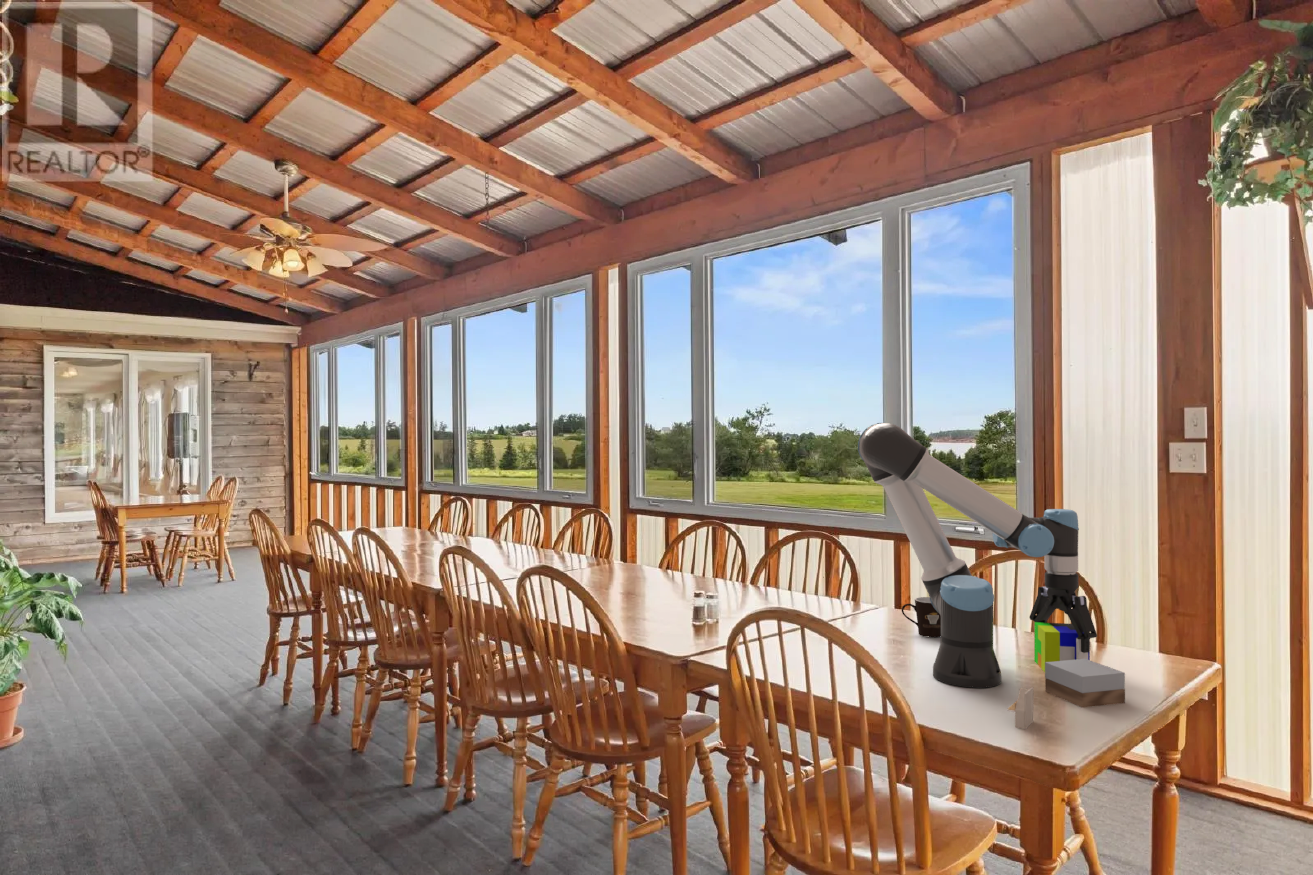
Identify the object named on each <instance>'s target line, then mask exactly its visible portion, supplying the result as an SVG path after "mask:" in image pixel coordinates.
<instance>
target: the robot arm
mask: <svg viewBox="0 0 1313 875" xmlns="http://www.w3.org/2000/svg"><path fill="white" fill-rule="evenodd" d="M857 451H858V454H859V456H860V458H861V460H862V461H863V462H864V464H865V466H866V468H867V470H868V472H869V474H870V476H871V478H872V480H873V482H874V483H875V484H877V485H880V486H882V487H883V490H884V491H885V493H886V496H887V497H888V500H889V501H890V504H891V506H892V507H893V509H894V512H895V514H896V516H897V518H898V520H899V522H900V524H901V527H902V528H903V531H904V533H905V535H906V537H907V538H908V540H909V543H910V545H911V547H912V549H913V550H914V553H915V555H916V557H917V560H918V561H919V563H920V566H921V567H922V569H923V573H922V576H921V577H920V579H921V581H922V584H923V585H924V586H923V587H924V588H925V589H926V591H927V594H928V597H930V601H931V603H932V605H933V607H934V608H935V610H936V611H937V612H938V613H939V614H940V615H941V637H940V645H939V648H938V651H937V654H936V658H935V660H934V663H933V666H932V676H933V677H934V678H935V679H936V680H937V681H939V682H941V683H945V684H948V685H952V686H957V687H962V688H963V687H964V688H972V689H973V688H974V689H976V688H977V689H978V688H979V689H984V688H992V687H996V686H999V685H1000V684H1001V683H1002V670H1001V669H1000V665H999V662H998V658H997V655H996V653H995V650H994V602H995V595H994V588H993V585H992V584H991V583H990V581H988V580H986V579H984V578H980V577H978V576H973V575H972V573H971V571H970V569H969V567H968V565H967V562H966V561H965V560H964V559H961V558H959V557H957V556H956V554H955V553H954V551H953V548H952V547H951V544H950V543H949V541H948V538H947V536H946V534H945V532H944V530H943V528H942V526H941V523H940V522H939V519H938V517H937V516H936V514H935V512H934V509H933V507H932V505H931V504H930V501H929V499H928V497H927V495H926V493H925V491H926V492H928V493H929V494H931V495H933V496H935V497H936V498H938V500H941V501H942V502H944V503H946V504H947V505H948V506H950V507H951V508H953V509H954V510H956V511H958V512H960V513H961V514H963V515H964V516H965V517H968V518H969V519H970V520H972V521H974V522H975V523H976V524H978V525H980V526H981V527H983V528H985V529H986V530H987V531H989V532H991V533H992V541H993V542H994V545H995V546H996V547H997V548H998V547H999V548H1006V549H1009V548H1014V549H1016V550H1018V551H1020V552H1022V553H1023V554H1025V555H1026V556H1028V557H1031V558H1042V557H1044V558H1043V559H1044V563H1043V564H1044V567H1043V568H1044V569H1045V572H1044V586H1039V587H1038V588H1037V596H1036V597H1035V601H1034V604H1033V607H1032V610H1031V612H1030V614H1029V620H1030V621H1033V622H1041V623H1048V620H1049V618H1051V616H1052V615H1053V614H1054V612H1055V610H1059V611H1062V612H1063V613H1064V614H1066V615H1067V617H1068V619H1069V620H1070V622H1071V623H1070V624H1073V626H1074V628H1075V630H1076V632H1077V634H1078V636H1079V637H1077V638H1076V660H1077V659H1088V652H1089V651H1090V652H1091V648H1090V647H1091V646H1090V645H1091V639H1094V638H1095V639H1096V638H1097V637H1098V634H1097V631H1096V628H1095V625H1094V622H1093V619H1092V617H1091V614H1090V611H1089V610H1090V609H1089V608H1088V602H1087V597H1086V595H1076V591H1077V589H1079V585H1080V584H1079V581H1080V580H1079V574H1078V573H1077V572H1078V571H1079V530H1080V528H1079V520H1078V519H1079V517H1078V514H1077V512H1076V511H1075V510H1073V509H1066V508H1065V509H1064V508H1047V509H1046V510H1044V512H1043V516H1040V517H1028V516H1027V515H1025V514H1024V513H1022V512H1021V511H1019V510H1018V509H1016V508H1014V507H1013V506H1011V505H1010V504H1008V503H1006V502H1005V501H1003V500H1001V499H1000V498H998V497H997V496H995V495H994V494H992V493H991V492H989V491H987V490H986V489H985V488H982V487H981V486H980V485H978V484H977V483H975V482H973V481H972V480H970V479H968V478H967V477H965V476H964V475H962V474H960V473H959V472H957V471H956V470H954V469H953V468H951V467H949V466H948V465H946V464H945V463H943V462H941V461H940V460H938V459H937V458H936V457H934V456H932V455H931V454H930V453H929V448H928V447H926V446H924V445H923V444H922V443H921V442H918V441H917V440H916V439H915V438H913V437H912V436H911V435H910V434H908V433H907V432H906V431H905V430H904V429H903V428H901V427H900V426H898V425H896V424H894V423H891V422H890V423H889V422H877V423H874V424H871V425H869V426H867V427H866V428H865V429H864V430H863V431H862V433H861V434H860V436H859V438H858V442H857ZM924 490H925V491H924ZM1083 633H1084V634H1083Z"/></svg>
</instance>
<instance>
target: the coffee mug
mask: <svg viewBox="0 0 1313 875" xmlns="http://www.w3.org/2000/svg"><path fill="white" fill-rule="evenodd" d="M908 606H909V607H912V609H914V611H915V612H916V621H915V620H913V619H911V618H910V617H909V616H907V615H906V613H905V612H904V610H905V608H906V607H908ZM901 613H902V615H903V617H905V618H906V619H907V620H908V621H910V622H912V623H913V624H915V625H916V627H917V628H918V629H917V630H918V635H919V636H922V637H924V636H929V637H928V638H941V637H940V636H941V615H940V614H939V613H938V612H937V611H936V610H935V608H934V607H933V605H932V603H931V601H930V597H929V596H920V597H919V596H918V597H915V598H914V604H913V603H912V604H911V603H905V604H903V605H902V607H901Z"/></svg>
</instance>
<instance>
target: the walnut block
mask: <svg viewBox="0 0 1313 875" xmlns="http://www.w3.org/2000/svg"><path fill="white" fill-rule="evenodd" d="M1044 681H1045V682H1044V683H1045V684H1044V686H1045V687H1044V690H1045V692H1046V693H1048V694H1051V695H1053V696H1055V697H1057V698H1059V699H1061V700H1064V701H1066V702H1069V703H1071V704H1073V705H1075V706H1078V707H1080V708H1090V707H1100V706H1109V705H1110V706H1111V705H1119V704H1125V703H1126V688H1125V689H1119V690H1109V691H1099V692H1089V693H1081V692H1078V691H1076V690H1074V689H1071V688H1069V687H1066V686H1064V685H1061V684H1059V683H1057V682H1054V681H1052V680H1049V679H1047V678H1045V677H1044Z"/></svg>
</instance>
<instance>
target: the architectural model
mask: <svg viewBox="0 0 1313 875" xmlns="http://www.w3.org/2000/svg"><path fill="white" fill-rule="evenodd" d="M1007 712H1011V713H1014V714H1015V716H1014V719H1015V720H1014V724H1015V725H1014V727H1015V728H1017V729H1022V730H1026V729H1027V728H1028V727H1030V725H1031V724H1032V723H1033V722H1034V687H1033V686H1031V687H1030V688H1025V687H1020V688H1019V692H1018V696H1017V700H1016V701H1015V702H1014V703H1012V704H1010V706H1009V707H1008V708H1007Z"/></svg>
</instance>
